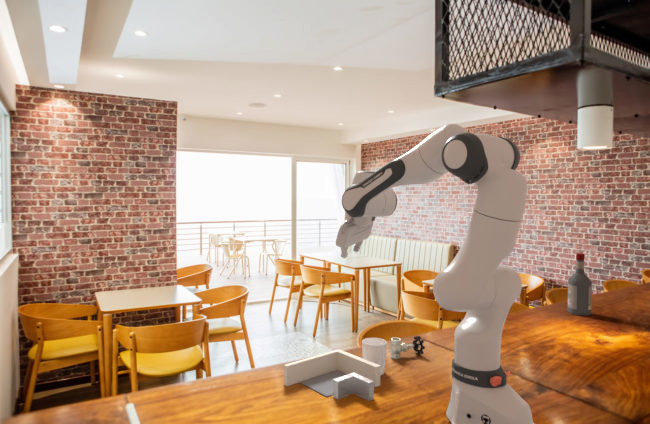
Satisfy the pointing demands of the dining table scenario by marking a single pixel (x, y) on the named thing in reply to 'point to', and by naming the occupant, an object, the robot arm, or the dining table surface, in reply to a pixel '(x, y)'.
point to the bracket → (353, 386)
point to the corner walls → (331, 367)
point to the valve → (405, 347)
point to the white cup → (375, 351)
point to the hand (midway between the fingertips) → (350, 254)
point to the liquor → (579, 290)
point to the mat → (323, 383)
